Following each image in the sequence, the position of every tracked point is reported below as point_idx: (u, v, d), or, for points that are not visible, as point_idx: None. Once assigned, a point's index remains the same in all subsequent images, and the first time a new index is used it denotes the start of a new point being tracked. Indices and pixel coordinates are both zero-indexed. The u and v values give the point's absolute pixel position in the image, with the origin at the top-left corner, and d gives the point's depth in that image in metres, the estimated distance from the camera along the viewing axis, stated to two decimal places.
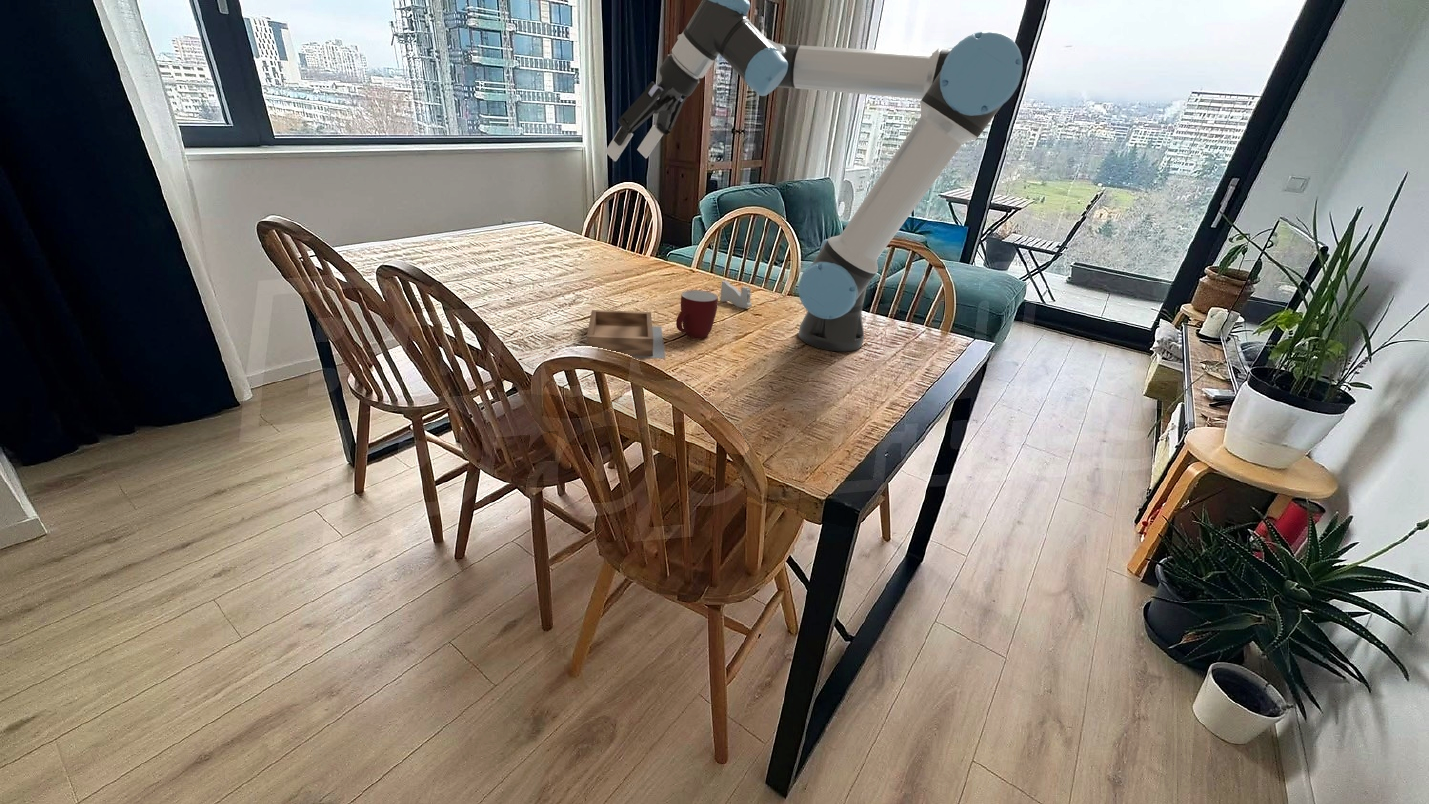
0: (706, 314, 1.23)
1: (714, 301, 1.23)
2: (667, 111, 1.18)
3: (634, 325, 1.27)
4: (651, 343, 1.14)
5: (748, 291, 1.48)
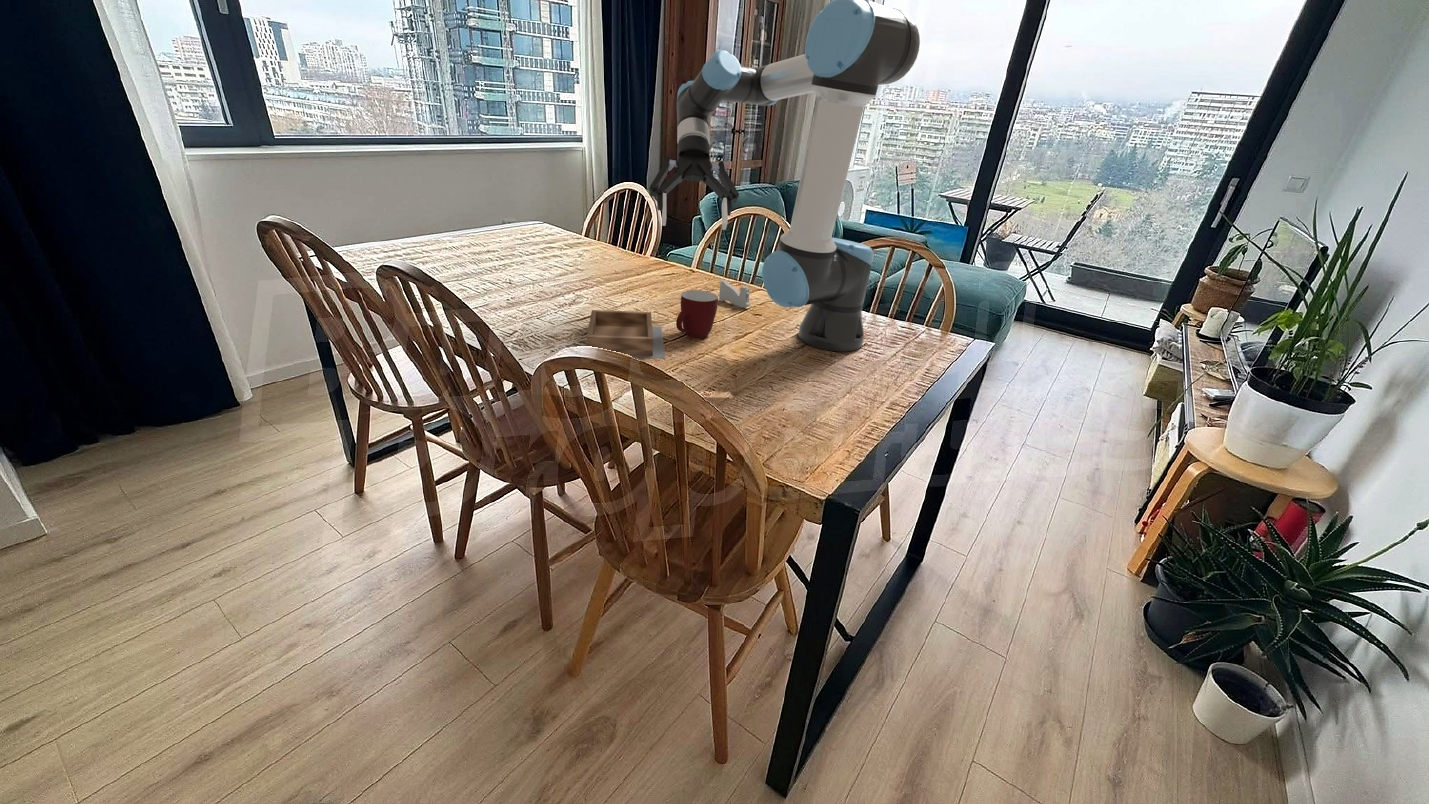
0: (706, 314, 1.23)
1: (714, 301, 1.23)
2: (707, 178, 1.30)
3: (634, 325, 1.27)
4: (651, 343, 1.14)
5: (747, 291, 1.49)
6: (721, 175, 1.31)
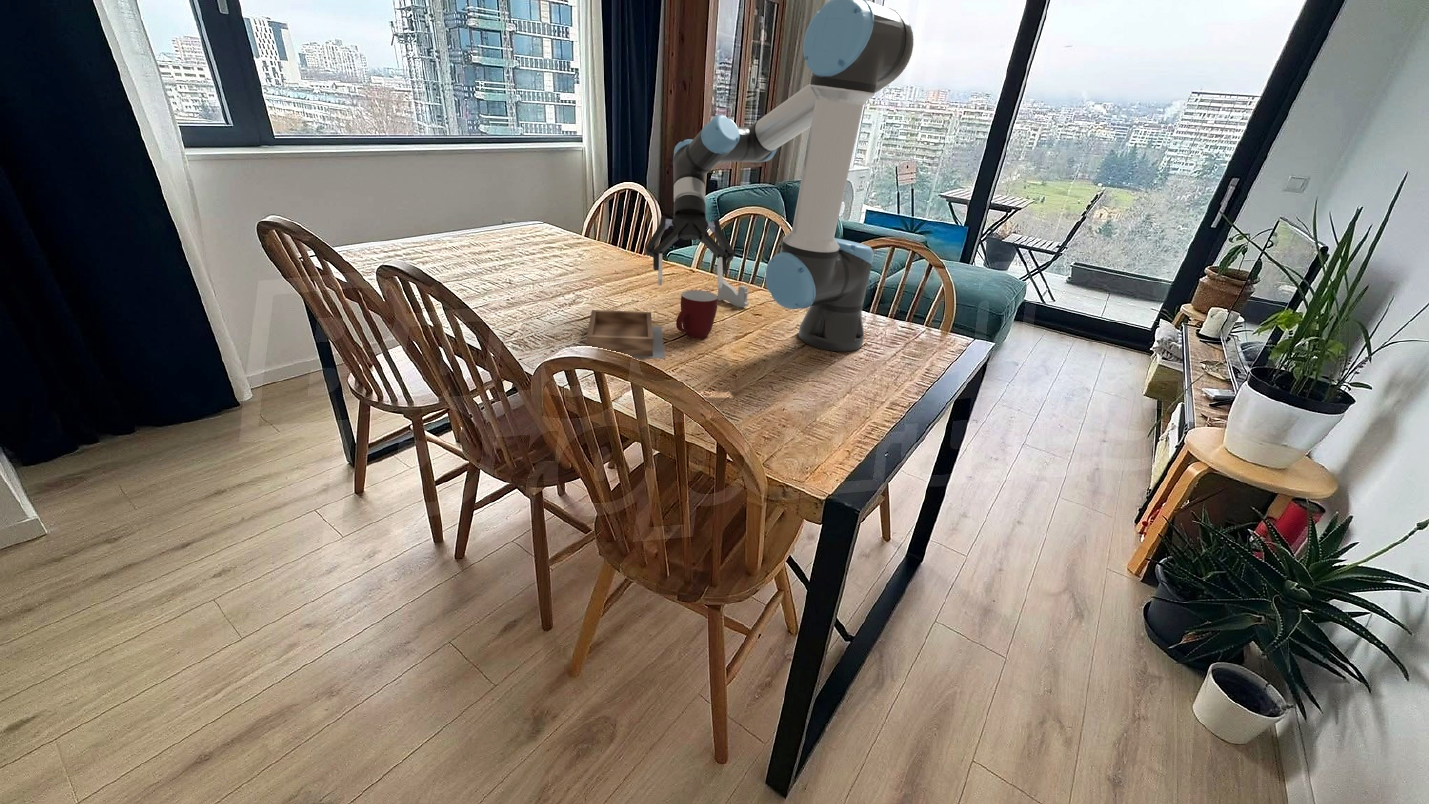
0: (706, 314, 1.23)
1: (714, 301, 1.23)
2: (703, 237, 1.31)
3: (634, 325, 1.27)
4: (651, 343, 1.14)
5: (745, 290, 1.49)
6: (717, 233, 1.32)
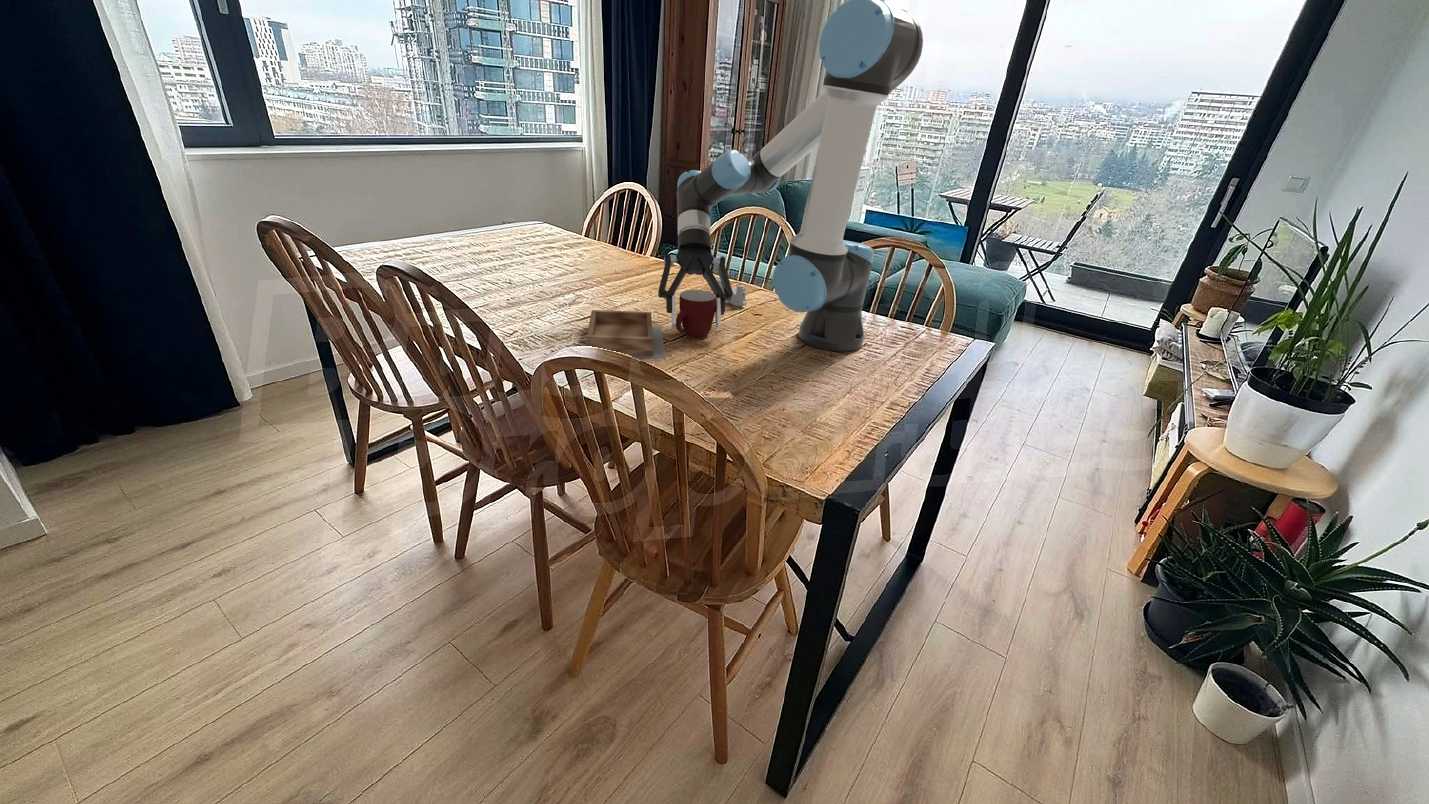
0: (705, 314, 1.22)
1: (713, 300, 1.22)
2: (705, 273, 1.26)
3: (634, 325, 1.27)
4: (651, 343, 1.14)
5: (743, 289, 1.49)
6: (720, 270, 1.27)
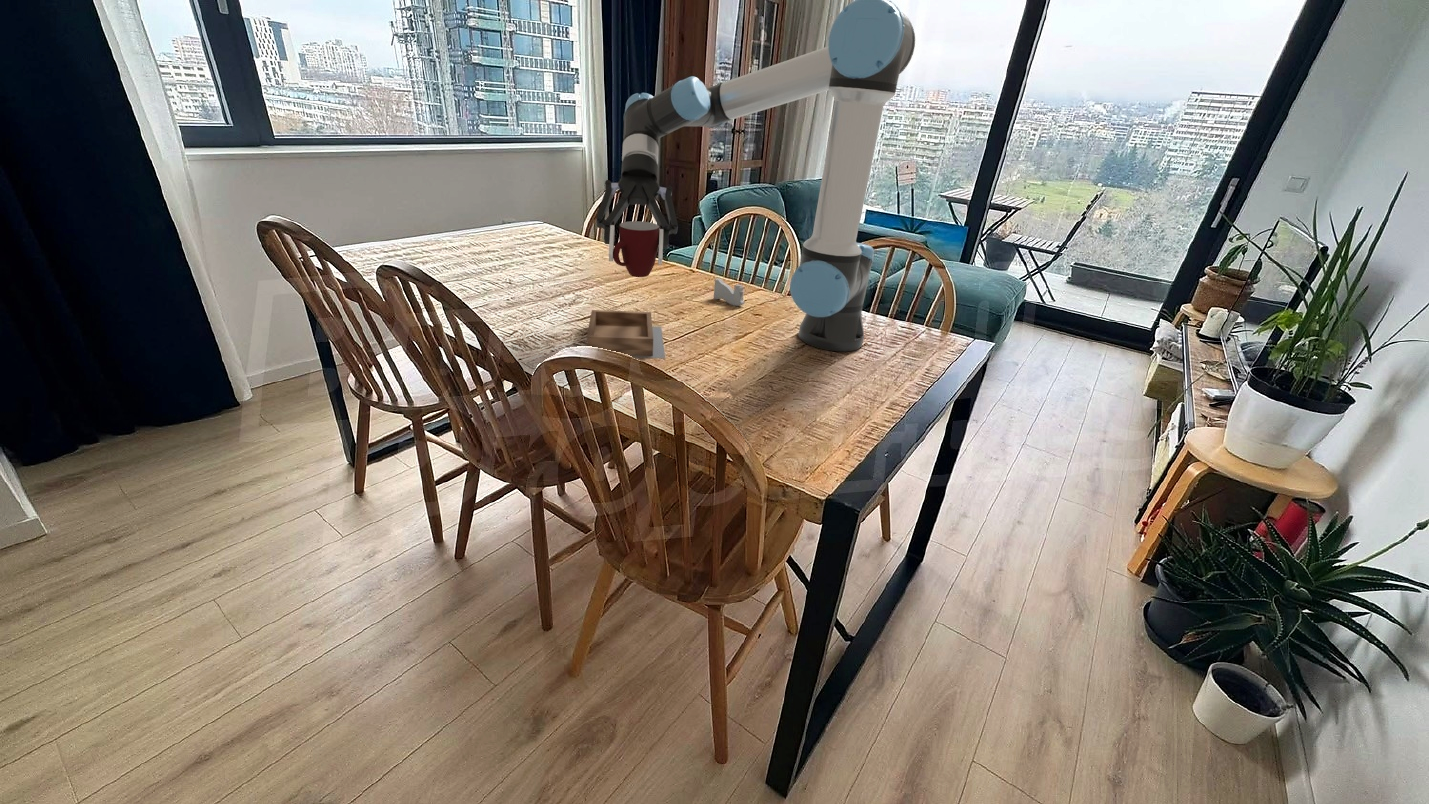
0: (645, 245, 1.12)
1: (654, 231, 1.12)
2: (649, 202, 1.16)
3: (634, 325, 1.27)
4: (651, 343, 1.14)
5: (741, 289, 1.50)
6: (666, 201, 1.17)
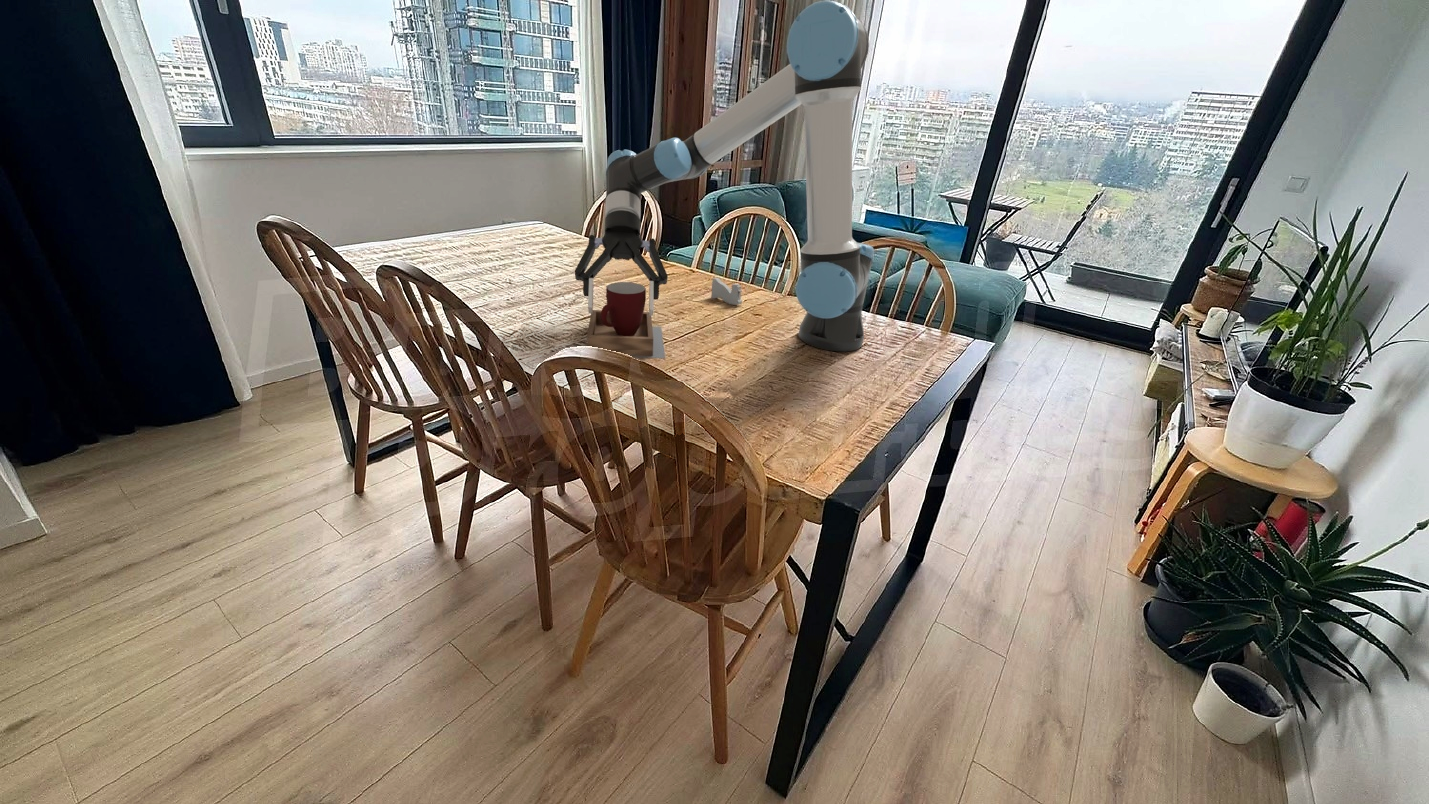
0: (632, 307, 1.16)
1: (640, 293, 1.15)
2: (635, 257, 1.19)
3: None
4: (651, 343, 1.14)
5: (738, 288, 1.50)
6: (651, 254, 1.20)
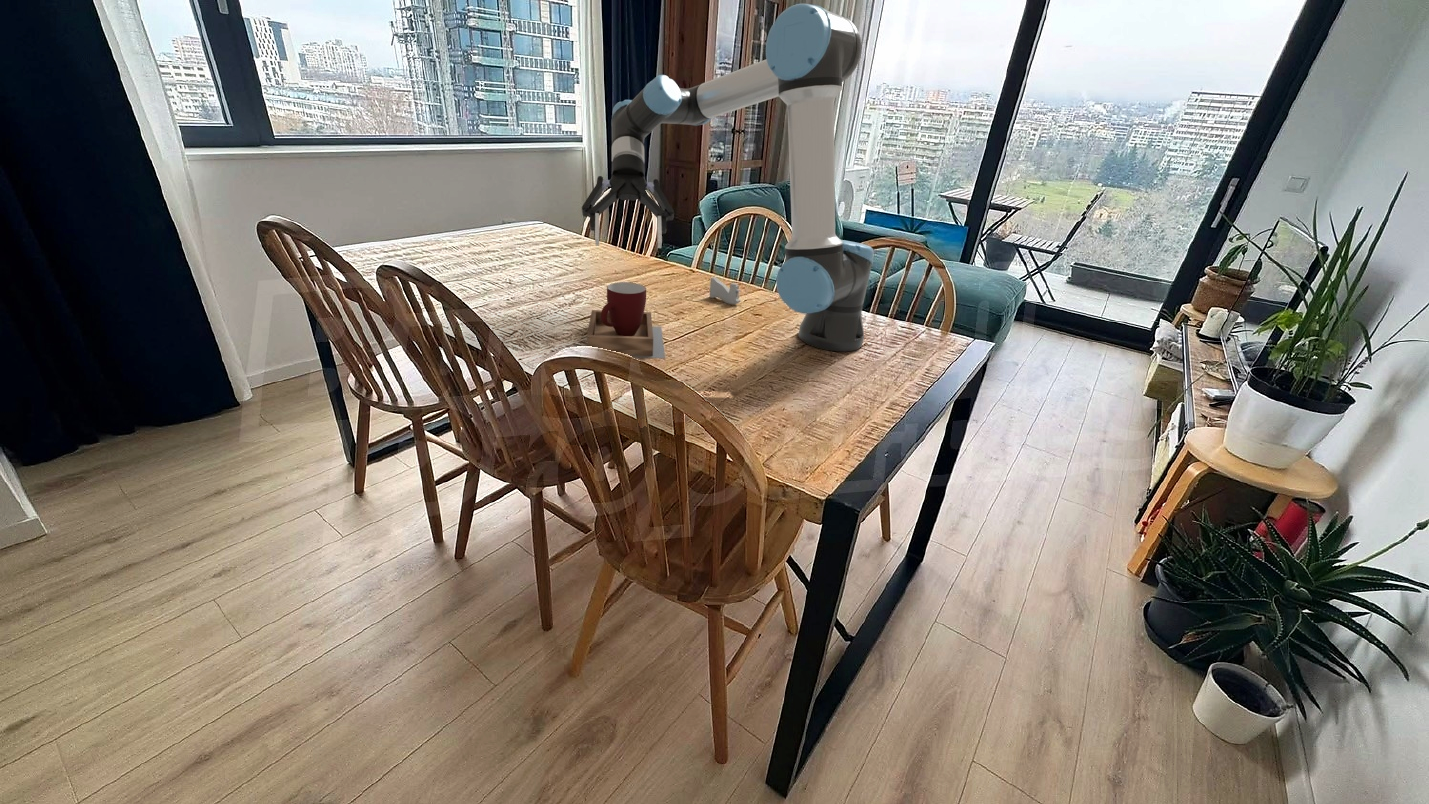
0: (632, 307, 1.16)
1: (641, 293, 1.16)
2: (642, 196, 1.28)
3: None
4: (651, 343, 1.14)
5: (736, 287, 1.51)
6: (656, 193, 1.29)
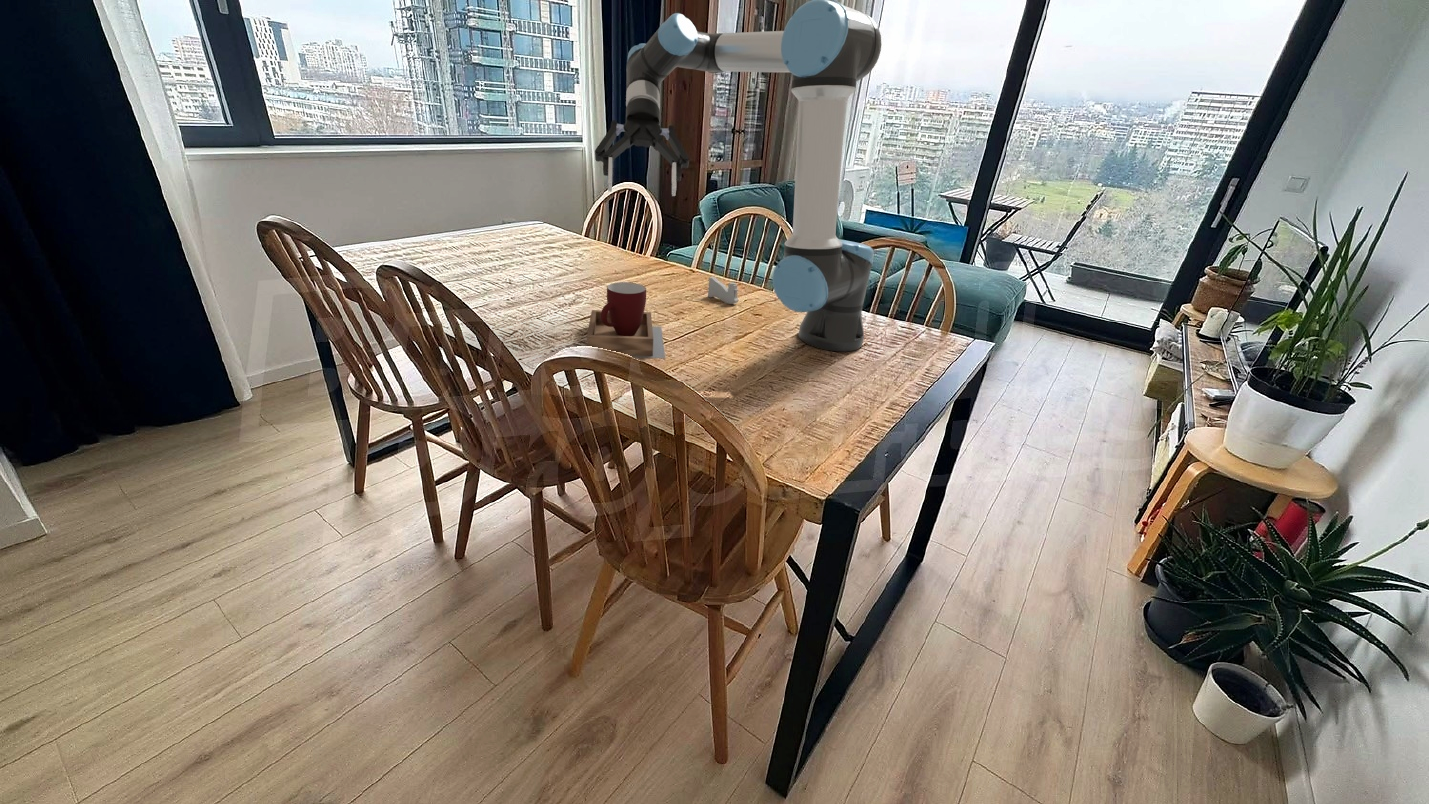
0: (632, 307, 1.16)
1: (641, 293, 1.16)
2: (657, 142, 1.25)
3: None
4: (651, 343, 1.14)
5: (735, 287, 1.51)
6: (671, 140, 1.26)
